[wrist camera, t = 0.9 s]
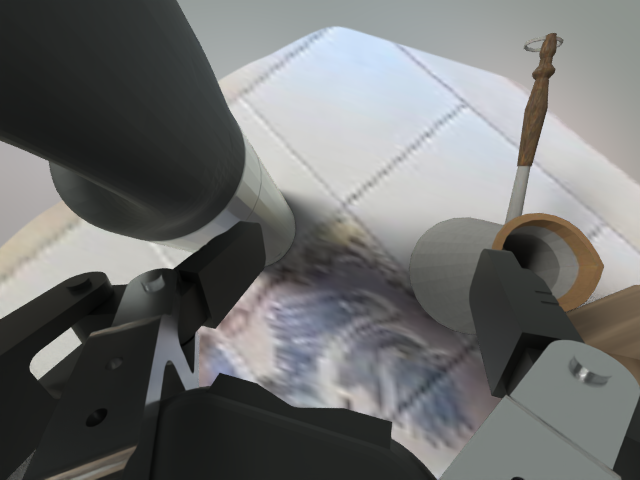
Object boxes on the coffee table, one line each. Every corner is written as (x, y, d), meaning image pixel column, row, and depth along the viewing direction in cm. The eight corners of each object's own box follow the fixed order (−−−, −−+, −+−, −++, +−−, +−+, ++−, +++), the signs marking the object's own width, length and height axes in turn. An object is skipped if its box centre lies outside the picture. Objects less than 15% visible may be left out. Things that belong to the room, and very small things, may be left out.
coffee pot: (512, 336, 28) (707, 380, 14) (400, 324, 29) (470, 355, 14) (504, 148, 32) (647, 27, 18) (406, 142, 33) (465, 21, 18)
